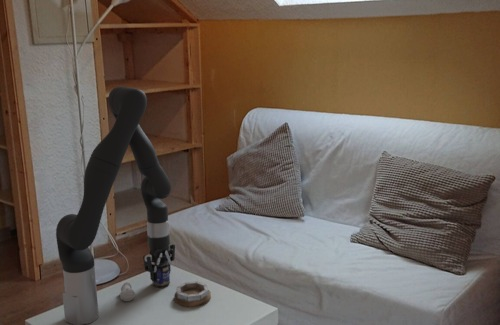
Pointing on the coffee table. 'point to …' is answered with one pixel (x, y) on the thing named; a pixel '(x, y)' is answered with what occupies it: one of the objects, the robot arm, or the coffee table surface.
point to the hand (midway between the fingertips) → (160, 277)
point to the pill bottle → (162, 273)
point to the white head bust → (127, 292)
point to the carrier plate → (192, 304)
